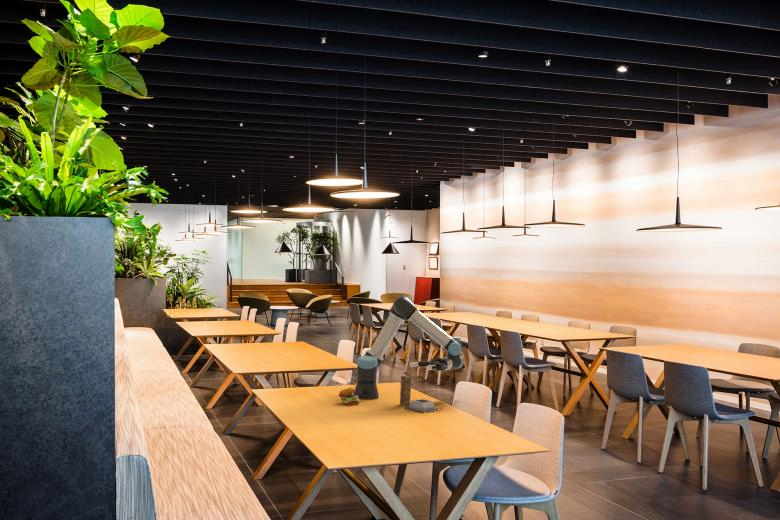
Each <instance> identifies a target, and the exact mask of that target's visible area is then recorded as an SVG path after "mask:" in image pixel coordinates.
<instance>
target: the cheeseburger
mask: <svg viewBox="0 0 780 520" xmlns="http://www.w3.org/2000/svg"><path fill="white" fill-rule="evenodd" d="M353 392H355V388H354V387H350V386H349V387H347V388H346V389H341V390H340V391H339V393H338V396H339V398H340V400H341V402H342V404H343V405H346V406H352V405H359V404H360V403H361V401H360V399H359V398H358V396H357V395H353Z"/></svg>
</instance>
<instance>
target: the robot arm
mask: <svg viewBox="0 0 780 520" xmlns="http://www.w3.org/2000/svg"><path fill="white" fill-rule="evenodd" d="M388 313H389V316H388V318H387V319H386V320H385V324H384V325H383V327H382V328H381V330H380V332H379V333H378V335H377V337H376V338H375V341H374V343H372V346H371V348H370V349H367V350H366V351H365V353H364V354H363V355H361V356H359V357H357V362H356V364H357V365H356V383H355V388H354V390H355V392H353V393H352V395H357V396H358V398H359V400H375V399H377V400H378V399H379V395H380V394H379V391H378V387H377V385H378V384H377V377H378V376H377V375H378V374H377V373H378V371H380V370H379V369H380V368H381V366H382V364H383V361H384V355H385V353H386V352H387V349H388V348H389V346H390V344H391V343H392V340H393V339H394V337H395V335H397V332H398V330H399V329H400V327H401V325H402V323H404V322H406V321H408V322H411V323H412V324H414V325H415V326H416V327H418V328H419V329H420V330H421V331H422V332H424V333H425V334H426V335H427V336H429V338H431V339H432V340H434V341H435V342H436V343H437V344H439V345H440V346H441V347H442V348H444V350H446V351H447V356H445V357H437V358H436V359H435V360H425V361H424V360H421V361H417V360H415V361H412V362H409V368H418V367H426V370H427V371H432V370H433V371H434V370H437V371H438V372H439V371H445V372H446V371H448V370H449V371H450V370H459V369H461V368H462V367H463V366H464V359H463V357H462V356H461V352H462V349H463V348H462V345H461V343H462V341H461V337H459V336H451V335H449V334H447V332H445V330H443V329H442V328H440V326H438V325H437V324H436V323H435V322H433V321H432V320H431V319H430V318H428V317H427V316H426V315H424V313H422V312H421V311H420V310H419V307H417V306H416V305H415V304H414V301H413V299H412V298H411V297H410V296H408V295H405V294H404V295H403V294H402V295H399V296H398V297H396V298H395V299H394V301H393V303H392V305H391V308H390V309H389V312H388Z"/></svg>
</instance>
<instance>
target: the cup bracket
mask: <svg viewBox="0 0 780 520" xmlns="http://www.w3.org/2000/svg"><path fill="white" fill-rule="evenodd" d="M403 409H405V410H409V411H412V410H413V412H417V413H421V412H422V414H424V412H426V413H431V412H430V411H433V412H435V411H434V410H438V409H440V410H441V407H436V406H435V401H434V400H429V399H425V398H419V399H412V400H411V399H410V405H408V406H403Z"/></svg>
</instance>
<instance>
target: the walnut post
mask: <svg viewBox="0 0 780 520" xmlns="http://www.w3.org/2000/svg"><path fill="white" fill-rule="evenodd" d="M411 384H412V376H411V375H401V376H400V390H399V391H400V393H399V394H400V395H399V405H400V406H403V405H404V406H403V407H405V406H406V405H408V406H411V391H412V390H411V389H412V388H411V386H412V385H411Z"/></svg>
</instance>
